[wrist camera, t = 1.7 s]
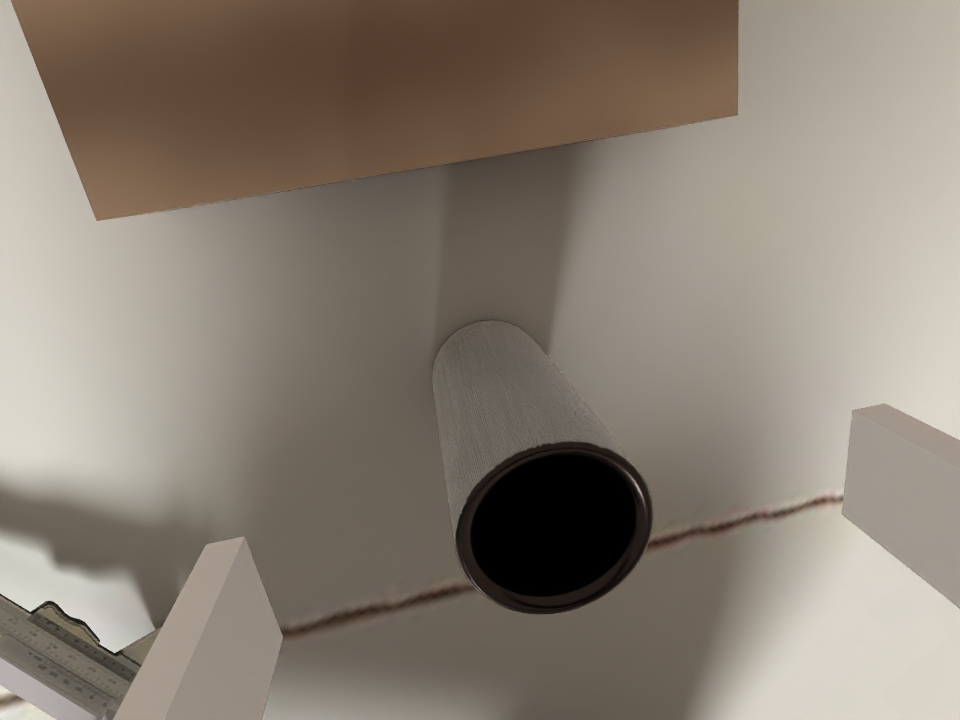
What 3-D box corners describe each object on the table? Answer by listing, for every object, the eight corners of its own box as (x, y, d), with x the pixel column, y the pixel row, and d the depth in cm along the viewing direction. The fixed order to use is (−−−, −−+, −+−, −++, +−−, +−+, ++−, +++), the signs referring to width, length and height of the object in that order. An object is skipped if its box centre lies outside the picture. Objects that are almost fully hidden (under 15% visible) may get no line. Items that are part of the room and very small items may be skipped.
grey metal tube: (407, 377, 21) (410, 547, 11) (489, 294, 20) (565, 399, 11) (487, 446, 22) (550, 647, 13) (566, 370, 22) (695, 523, 12)
